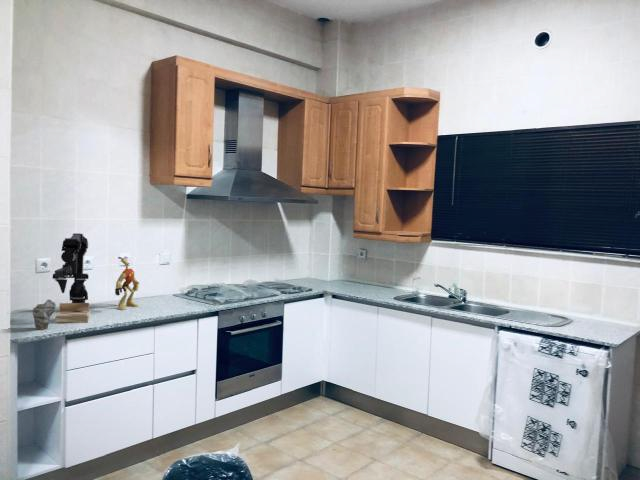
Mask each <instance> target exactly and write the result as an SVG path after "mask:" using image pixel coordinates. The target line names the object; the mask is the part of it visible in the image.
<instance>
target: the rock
mask: <svg viewBox="0 0 640 480" xmlns="http://www.w3.org/2000/svg"><path fill="white" fill-rule="evenodd" d="M56 305H57V304H56V302H53V300H52V299H47V300H46V301H45V302H44V303H39V304H37V305H36V307H33V309H32V316H33V320H34V327H35V329H36V330H45V329H48V327H49V324H50V319H51V316H52V315H53V314H54V312H55V309H56Z"/></svg>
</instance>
